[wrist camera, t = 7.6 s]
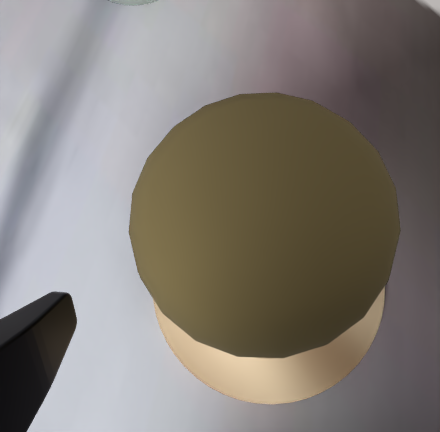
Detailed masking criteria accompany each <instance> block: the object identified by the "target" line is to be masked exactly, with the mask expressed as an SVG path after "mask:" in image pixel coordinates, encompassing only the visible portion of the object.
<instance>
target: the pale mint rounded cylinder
mask: <svg viewBox="0 0 440 432" xmlns="http://www.w3.org/2000/svg"><path fill="white" fill-rule="evenodd" d="M109 1H111V2H114V3H117V4H122V5H143V4H148V3H152V2H155V1H158V0H109Z"/></svg>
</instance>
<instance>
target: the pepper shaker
mask: <svg viewBox="0 0 440 432" xmlns="http://www.w3.org/2000/svg"><path fill="white" fill-rule="evenodd" d="M400 231H401V230H400V221H399V213H398V204H397V195H396V188H395V186H394V184H393V182H392V180H391V177H390V175H389V173H388V171H387V169H386V167H385V165H384V163H383V161H382V159H381V157H380V154H379V152H378V151H377V150H376V149H375V148H374V147H373V146H372V145H371V144H370V143H369V141H368V140H367V139H366V138H365V137H364V136H363V135H362V134H361V133H360V132H359V131H358V130H357V129H356V128H355V127H354V126H353V125H352V124H351V123H350V122H349V121H347V120H346V119H344V118H342V117H340V116H339V115H337V114H335V113H333V112H331V111H330V110H328V109H326V108H324V107H323V106H321V105H319V104H317V103H315V102H314V101H311V100H307V99H302V98H298V97H294V96H289V95H285V94H280V93H256V94H239V95H236V96H233V97H230V98H227V99H224V100H221V101H218V102H215V103H212V104H209V105H206V106H204V107H202V108H201V109H199V110H198V111H196V112H195V113H194V114H192V115H191V116H189V117H188V118H186V119H185V120H183V121H182V122H180V123H179V124H177V125H176V126H174V127H173V128H172V129H171V131H170V132H169V133H168V134H167V135H166V137H165V138H164V139H163V140H162V141H161V143H160V144H159V145H158V146H157V147H156V149H155V150H154V151H153V152H152V153H151V154H150V156H149V157H148V158H147V160H146V163H145V165H144V167H143V170H142V172H141V174H140V177H139V179H138V181H137V184H136V186H135V189H134V191H133V193H132V204H131V214H130V225H129V235H130V239H131V244H132V248H133V252H134V257H135V261H136V265H137V270H138V273H139V275H140V278H141V279H142V281H143V283H144V284H145V286H146V288H147V289H148V291H149V293H150V294H151V296H152V297H153V299H154V301H155V302H156V304H157V306H158V307H159V309H160V310H161V312H162V314H164V315H165V316H166V317H167V318H168V319H170V320H171V321H172V322H173V323H175V324H176V325H177V326H178V327H179V328H181V329H182V330H183V331H184V332H185V333H187V334H188V335H189V336H190V337H191V338H193V339H194V340H195V341H197V342H200V343H202V344H205V345H208V346H210V347H213V348H215V349H218V350H221V351H223V352H226V353H229V354H231V355H234V356H236V357H257V358H286V357H289V356H293V355H296V354H299V353H302V352H306V351H309V350H312V349H315V348H318V347H322V346H325V345H328V344H329V343H330V342H332V341H333V340H334V339H336V338H337V337H338V336H340V335H341V334H342V333H344V332H345V331H346V330H348V329H349V328H350V327H352V326H353V325H355V324H356V323H357V322H359V321H360V320H361V319H363V318H364V317H365V315H366V314H367V312H368V311H369V309H370V308H371V306H372V304H373V303H374V301H375V300H376V298H377V297H378V295H379V294H380V292H381V291H382V289H383V288H384V286H385V285H386V283H387V282H388V280H389V276H390V272H391V268H392V264H393V260H394V256H395V251H396V247H397V243H398V239H399V235H400Z"/></svg>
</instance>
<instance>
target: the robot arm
mask: <svg viewBox="0 0 440 432" xmlns="http://www.w3.org/2000/svg"><path fill="white" fill-rule="evenodd" d="M76 325H77V317H76V313H75V309H74V305H73V301H72V297H71V295H70V294H69V293H65V292H51V293H49V294H47V295H45V296H43V297H41V298H39V299H37V300H36V301H34V302H32V303H30V304H28V305H26V306H24V307H23V308H21V309H19V310H17V311H15V312H13V313H11V314H10V315H8V316H6V317H4V318H2V319H0V432H27V430H28V428H29V426H30V425H31V423H32V421H33V419H34V417H35V415H36V414H37V412H38V410H39V408H40V406H41V404H42V403H43V401H44V399H45V397H46V395H47V393H48V391H49V389H50V387H51V385H52V383H53V381H54V379H55V376H56V374H57V372H58V369H59V367H60V365H61V362H62V360H63V357H64V355H65V353H66V350H67V348H68V346H69V343H70V341H71V338H72V336H73V334H74V331H75V329H76Z"/></svg>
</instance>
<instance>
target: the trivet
mask: <svg viewBox="0 0 440 432" xmlns="http://www.w3.org/2000/svg"><path fill="white" fill-rule="evenodd" d="M384 297H385V286H384V288H383V289H382V291H381V292H380V294H379V295H378V297H377V298H376V300H375V301H374V303H373V304H372V306H371V308H370V309H369V311H368V312H367V314H366V315H365V317H364V318H363V319H361V320H360V321H359V322H357V323H356V324H355V325H353V326H352V327H350V328H349V329H348V330H346V331H345V332H344V333H342V334H341V335H340V336H338V337H337V338H336V339H334V340H333V341H332V342H330V343H329V344H328V345H325V346H322V347H318V348H315V349H312V350H309V351H306V352H302V353H299V354H296V355H293V356H289V357H286V358H257V357H236V356H234V355H231V354H229V353H226V352H223V351H221V350H218V349H215V348H213V347H210V346H208V345H205V344H202V343H200V342H197V341H195V340H194V339H193V338H191V337H190V336H189V335H188V334H187V333H185V332H184V331H183V330H182V329H181V328H179V327H178V326H177V325H176V324H175V323H173V322H172V321H171V320H170V319H168V318H167V317H166V316H165V315H164V314H162V312H161V310H160V309H159V307H158V306H157V304H156V302H155V301H154V299H153V301H154V307H155V312H156V316H157V319H158V322H159V325H160V328H161V330H162V333H163V335H164V337H165V339H166V341H167V343H168V345H169V346H170V348H171V349H172V351H173V353H174V354H175V356H176V357H177V358H178V359H179V360H180V362H181V363H182V364H183V365H184V366H185V367H186V368H187V369H188V370H189V371H190V372H191V373H192V374H193V375H194V376H195V377H196V378H198V379H199V380H200V381H202V382H203V383H205V384H206V385H208V386H209V387H211V388H213V389H214V390H216V391H218V392H220V393H222V394H224V395H227V396H230V397H233V398H235V399H238V400H242V401H247V402H252V403H259V404H282V403H291V402H295V401H299V400H304V399H307V398H309V397H312V396H314V395H317V394H320V393H322V392H323V391H325V390H327V389H329V388H330V387H332V386H334V385H335V384H337V383H338V382H339V381H341V380H342V379H343V378H344V377H346V376H347V375H348V374H349V373H350V372H351V371H352V370H353V369H354V368H355V367H356V366H357V365H358V364H359V362H360V361H361V360H362V358H363V357H364V355H365V354H366V352H367V351H368V350H369V348H370V346H371V344H372V342H373V340H374V338H375V336H376V333H377V331H378V328H379V325H380V322H381V318H382V313H383V307H384Z"/></svg>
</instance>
